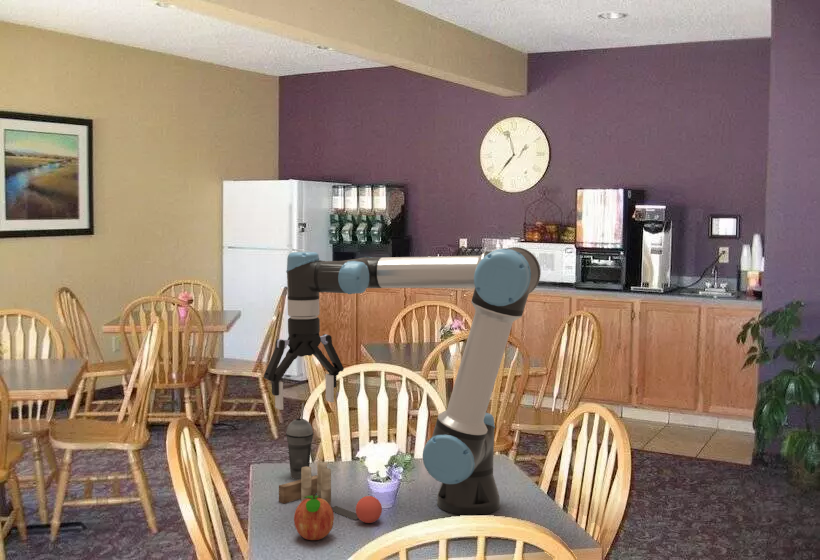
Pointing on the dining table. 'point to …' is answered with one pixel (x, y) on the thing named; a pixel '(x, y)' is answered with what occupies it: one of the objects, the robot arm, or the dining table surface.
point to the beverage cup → (299, 444)
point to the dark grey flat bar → (345, 512)
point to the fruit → (313, 518)
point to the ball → (368, 509)
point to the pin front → (326, 485)
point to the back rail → (295, 490)
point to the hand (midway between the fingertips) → (305, 405)
